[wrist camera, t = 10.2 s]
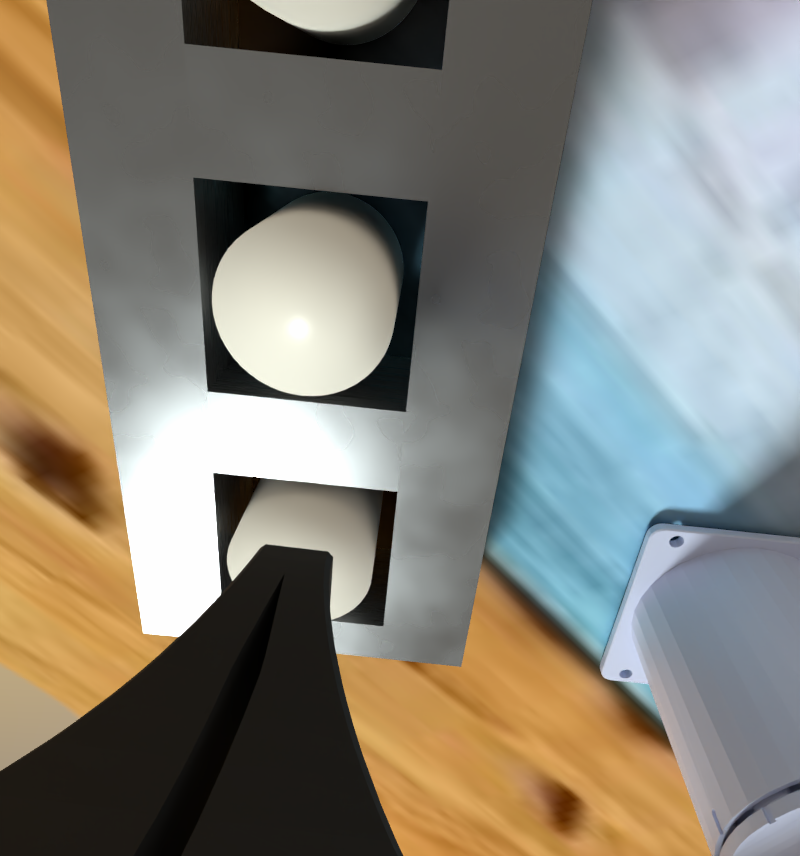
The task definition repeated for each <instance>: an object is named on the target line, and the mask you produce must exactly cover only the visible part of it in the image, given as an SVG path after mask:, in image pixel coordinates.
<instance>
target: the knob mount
mask: <svg viewBox="0 0 800 856" xmlns="http://www.w3.org/2000/svg"><path fill="white" fill-rule="evenodd" d="M591 5H592V0H449V5H448V14H447V24H446V33H445V43H444V52H443V62H442V70H438V69H428V68H418V67H409V66H399V65H389V64H379V63H369V62H359V61H349V60H339V59H330V58H320V57H310V56H300V55H290V54H280V53H270V52H261V51H251V50H241V49H239V31H238V0H47V7H48V13H49V20H50V26H51V33H52V39H53V46H54V52H55V59H56V65H57V72H58V79H59V85H60V92H61V98H62V105H63V111H64V118H65V124H66V131H67V137H68V144H69V150H70V157H71V164H72V170H73V177H74V183H75V190H76V196H77V203H78V209H79V216H80V222H81V229H82V236H83V242H84V249H85V255H86V262H87V268H88V275H89V281H90V288H91V294H92V301H93V307H94V314H95V321H96V327H97V334H98V340H99V347H100V353H101V360H102V366H103V373H104V379H105V386H106V392H107V399H108V406H109V412H110V419H111V425H112V432H113V438H114V445H115V451H116V458H117V464H118V471H119V478H120V484H121V491H122V497H123V504H124V510H125V517H126V523H127V530H128V536H129V543H130V549H131V556H132V563H133V569H134V576H135V582H136V589H137V595H138V602H139V608H140V615H141V621H142V628H143V633H148V634H157V635H167V636H176V637H179V636H180V635H181V634H182V633H183V632H184V631H185V630H186V629H187V628H188V627H189V626H191V625H192V624H193V623H194V622H195V621H196V620H197V619H198V618H199V617H200V616H201V614H202V613H203V612H204V611H205V610H206V609H207V608H208V607H209V606H210V605H211V604H212V603H213V602H214V601H215V600H216V599H217V598H218V597H219V596H220V594H221V593H222V592H223V591H224V590H225V589H226V588H227V587H228V586H229V585H230V583H231V582H232V579H231V577H230V574H229V571H228V566H227V553H228V548H229V545H230V542H231V540H232V538H233V536H234V533H235V531H236V529H237V527H238V525H239V523H240V521H241V519H242V517H243V514H244V512H245V510H246V508H247V506H248V504H249V502H250V500H251V497H252V495H253V492H252V477H260V478H270V479H279V480H289V481H299V482H308V483H318V484H327V485H337V486H346V487H356V488H365V489H375V490H385V491H394V492H397V499H396V509H395V518H394V528H393V537H392V547H391V549H387V548H377V547H376V551H375V558H374V566H373V573H372V580H371V585H370V587H369V590H368V592H367V594H366V596H365V598H364V599H363V600H362V601H361V603H360V604H359V605H357V606H356V607H355V608H354V609H353V610H351V611H350V612H348V613H347V614H345V615H343V616H341V617H338V618H335V619H332V620H331V621H332V629H333V637H334V644H335V650H336V653H337V654H346V655H356V656H365V657H375V658H384V659H393V660H403V661H412V662H422V663H431V664H441V665H450V666H460V667H461V664H462V659H463V654H464V649H465V644H466V639H467V634H468V629H469V624H470V619H471V614H472V609H473V604H474V599H475V593H476V588H477V583H478V578H479V573H480V568H481V563H482V558H483V553H484V548H485V543H486V538H487V533H488V528H489V522H490V517H491V512H492V507H493V502H494V497H495V492H496V487H497V482H498V477H499V472H500V467H501V462H502V457H503V452H504V446H505V441H506V436H507V431H508V426H509V421H510V416H511V411H512V406H513V401H514V396H515V391H516V386H517V381H518V375H519V370H520V365H521V360H522V355H523V350H524V345H525V340H526V335H527V330H528V325H529V320H530V315H531V310H532V305H533V299H534V294H535V289H536V284H537V279H538V274H539V269H540V264H541V259H542V254H543V249H544V244H545V239H546V234H547V228H548V223H549V218H550V213H551V208H552V203H553V198H554V193H555V188H556V183H557V178H558V173H559V168H560V163H561V157H562V152H563V147H564V142H565V137H566V132H567V127H568V122H569V117H570V112H571V107H572V102H573V97H574V92H575V87H576V81H577V76H578V71H579V66H580V61H581V56H582V51H583V46H584V41H585V36H586V31H587V26H588V21H589V16H590V10H591ZM243 183H252V184H262V185H272V186H281V187H291V188H301V189H311V190H320V191H330V192H340V193H350V194H359V195H369V196H379V197H389V198H398V199H408V200H418V201H428V204H427V214H426V223H425V233H424V242H423V252H422V261H421V271H420V280H419V290H418V299H417V309H416V318H415V328H414V337H413V347H412V356H411V358H407V357H397V356H388V355H384V356H383V358H382V360H381V361H380V363H379V364H378V365H377V366H376V368H375V369H374V370H373V371H372V372H371V373H370V374H369V375H368V376H367V377H365V378H364V379H363V380H361V381H360V382H358V383H357V384H355V385H354V386H352V387H350V388H348V389H345V390H343V391H340V392H337V393H333V394H328V395H322V396H301V395H295V394H290V393H286V392H283V391H279V390H277V389H274V388H272V387H270V386H268V385H266V384H264V383H262V382H260V381H259V380H257V379H256V378H255V377H253V376H252V375H250V374H249V373H248V372H247V371H246V370H245V369H243V368H242V367H241V366H240V365H239V364H238V362H237V361H236V360H235V359H234V358H233V357H232V355H231V354H230V352H229V351H228V350H227V348H226V346H225V344H224V343H223V341H222V339H221V337H220V334H219V332H218V329H217V327H216V323H215V319H214V315H213V308H212V289H213V282H214V277H215V274H216V271H217V268H218V266H219V263H220V261H221V259H222V257H223V256H224V254H225V253H226V251H227V250H228V248H229V247H230V246H231V245H232V244H233V243H234V242H235V240H236V239H238V238H239V237H240V236H241V235H242V234H244V233H245V228H244V195H243Z"/></svg>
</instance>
